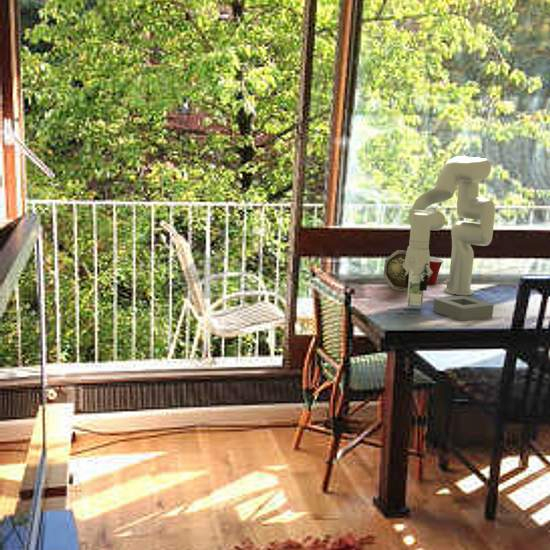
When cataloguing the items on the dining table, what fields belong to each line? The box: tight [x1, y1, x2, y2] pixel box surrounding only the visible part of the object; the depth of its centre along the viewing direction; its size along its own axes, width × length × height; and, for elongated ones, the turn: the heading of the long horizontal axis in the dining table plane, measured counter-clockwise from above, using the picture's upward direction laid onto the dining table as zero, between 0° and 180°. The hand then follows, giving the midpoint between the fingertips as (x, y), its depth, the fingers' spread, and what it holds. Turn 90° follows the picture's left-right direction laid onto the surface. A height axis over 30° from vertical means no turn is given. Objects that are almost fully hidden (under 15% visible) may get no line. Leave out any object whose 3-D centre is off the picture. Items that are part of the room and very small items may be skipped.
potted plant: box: [383, 249, 408, 292], centre depth 334 cm, size 18×18×30 cm
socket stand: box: [432, 295, 494, 322], centre depth 300 cm, size 16×16×5 cm
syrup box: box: [406, 270, 425, 308], centre depth 303 cm, size 6×6×14 cm
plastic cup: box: [427, 256, 444, 286], centre depth 353 cm, size 11×11×12 cm
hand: (415, 287), depth 303 cm, fingers closed on syrup box, 8 cm apart
